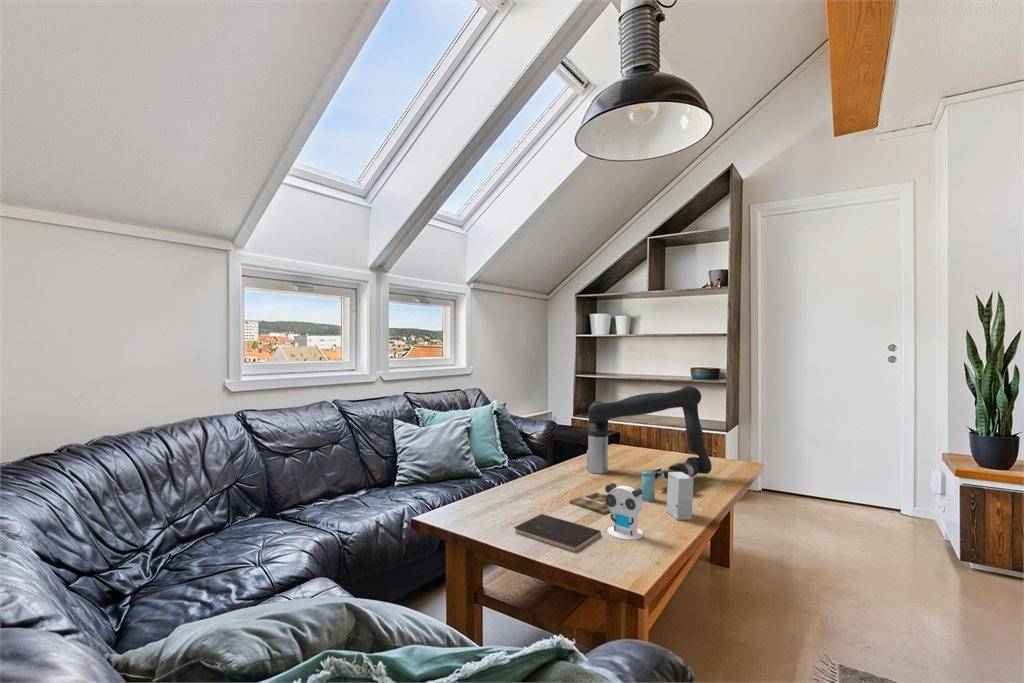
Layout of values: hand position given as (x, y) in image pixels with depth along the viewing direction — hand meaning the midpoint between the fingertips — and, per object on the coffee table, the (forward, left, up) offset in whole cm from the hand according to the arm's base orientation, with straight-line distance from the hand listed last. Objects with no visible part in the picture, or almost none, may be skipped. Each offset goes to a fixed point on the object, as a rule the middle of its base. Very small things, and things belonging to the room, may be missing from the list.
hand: (661, 479), depth 194 cm
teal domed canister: (0, -10, -6) cm, 12 cm away
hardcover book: (-2, -61, -7) cm, 61 cm away
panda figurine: (+12, -44, -6) cm, 46 cm away
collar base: (-10, -28, -6) cm, 30 cm away
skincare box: (+17, -17, -6) cm, 25 cm away
